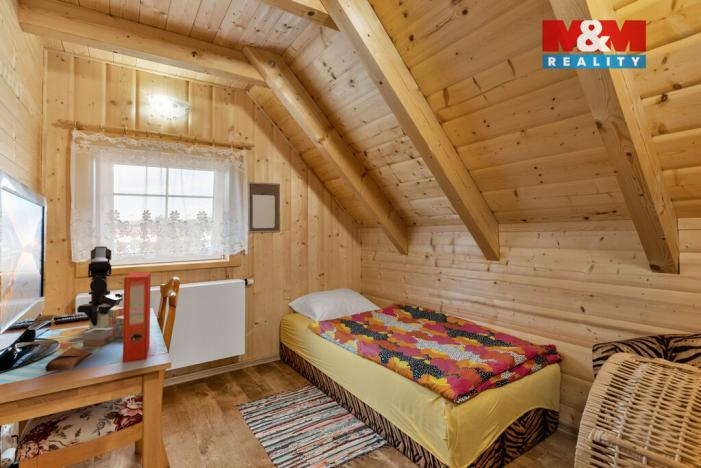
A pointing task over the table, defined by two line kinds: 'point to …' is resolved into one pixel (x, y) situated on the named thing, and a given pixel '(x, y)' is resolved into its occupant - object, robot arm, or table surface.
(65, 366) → the sunglasses case
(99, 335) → the grey top block
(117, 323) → the stack of blocks
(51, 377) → the table surface
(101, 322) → the sage cube
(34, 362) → the table surface
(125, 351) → the file binder
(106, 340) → the walnut base block
